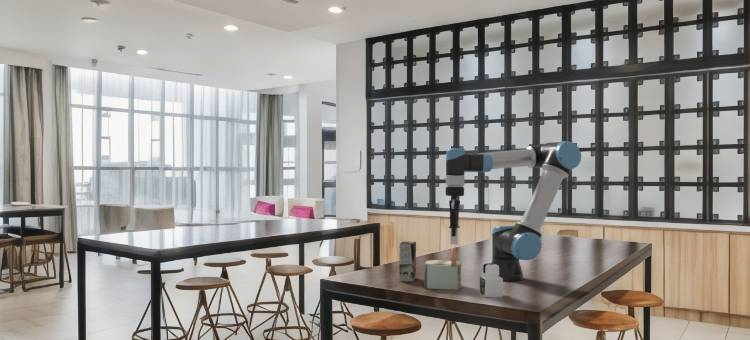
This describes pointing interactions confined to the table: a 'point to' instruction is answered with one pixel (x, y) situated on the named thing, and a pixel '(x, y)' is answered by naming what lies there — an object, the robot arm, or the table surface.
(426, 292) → the table surface
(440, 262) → the cubby
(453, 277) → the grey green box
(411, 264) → the coffee box
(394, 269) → the table surface
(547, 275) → the table surface
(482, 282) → the medicine bottle
